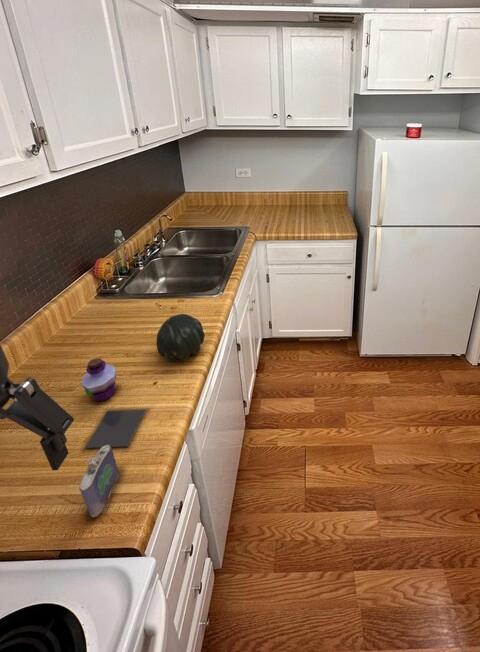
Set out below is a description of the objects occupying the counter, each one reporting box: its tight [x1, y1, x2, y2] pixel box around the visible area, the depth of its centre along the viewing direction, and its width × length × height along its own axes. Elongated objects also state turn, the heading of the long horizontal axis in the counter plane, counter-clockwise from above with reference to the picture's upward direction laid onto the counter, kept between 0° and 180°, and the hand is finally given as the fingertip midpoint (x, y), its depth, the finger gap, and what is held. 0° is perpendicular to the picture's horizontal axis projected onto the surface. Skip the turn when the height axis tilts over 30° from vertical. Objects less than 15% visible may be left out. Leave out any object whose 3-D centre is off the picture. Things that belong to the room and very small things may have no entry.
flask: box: [78, 445, 120, 519], centre depth 69 cm, size 9×3×11 cm, turn 4°
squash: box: [156, 313, 206, 361], centre depth 108 cm, size 14×15×15 cm
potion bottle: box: [80, 357, 117, 404], centre depth 92 cm, size 9×9×12 cm
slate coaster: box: [84, 409, 147, 450], centre depth 84 cm, size 10×10×1 cm
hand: (16, 463), depth 52 cm, fingers open, 13 cm apart
